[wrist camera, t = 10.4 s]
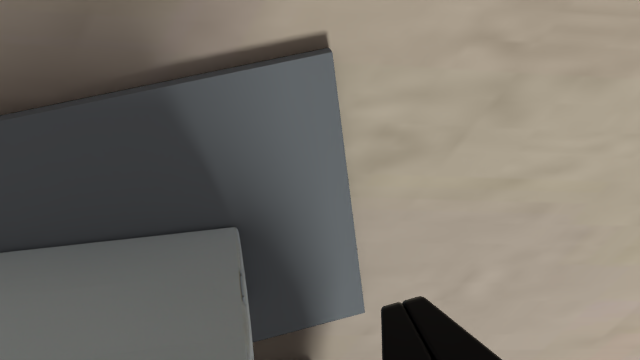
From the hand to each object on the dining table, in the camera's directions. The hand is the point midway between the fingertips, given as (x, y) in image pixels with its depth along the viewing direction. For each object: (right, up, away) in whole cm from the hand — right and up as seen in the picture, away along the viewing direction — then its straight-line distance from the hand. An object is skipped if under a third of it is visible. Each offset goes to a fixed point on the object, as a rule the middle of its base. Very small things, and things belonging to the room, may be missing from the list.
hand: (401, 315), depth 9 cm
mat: (-9, 0, +14) cm, 17 cm away
